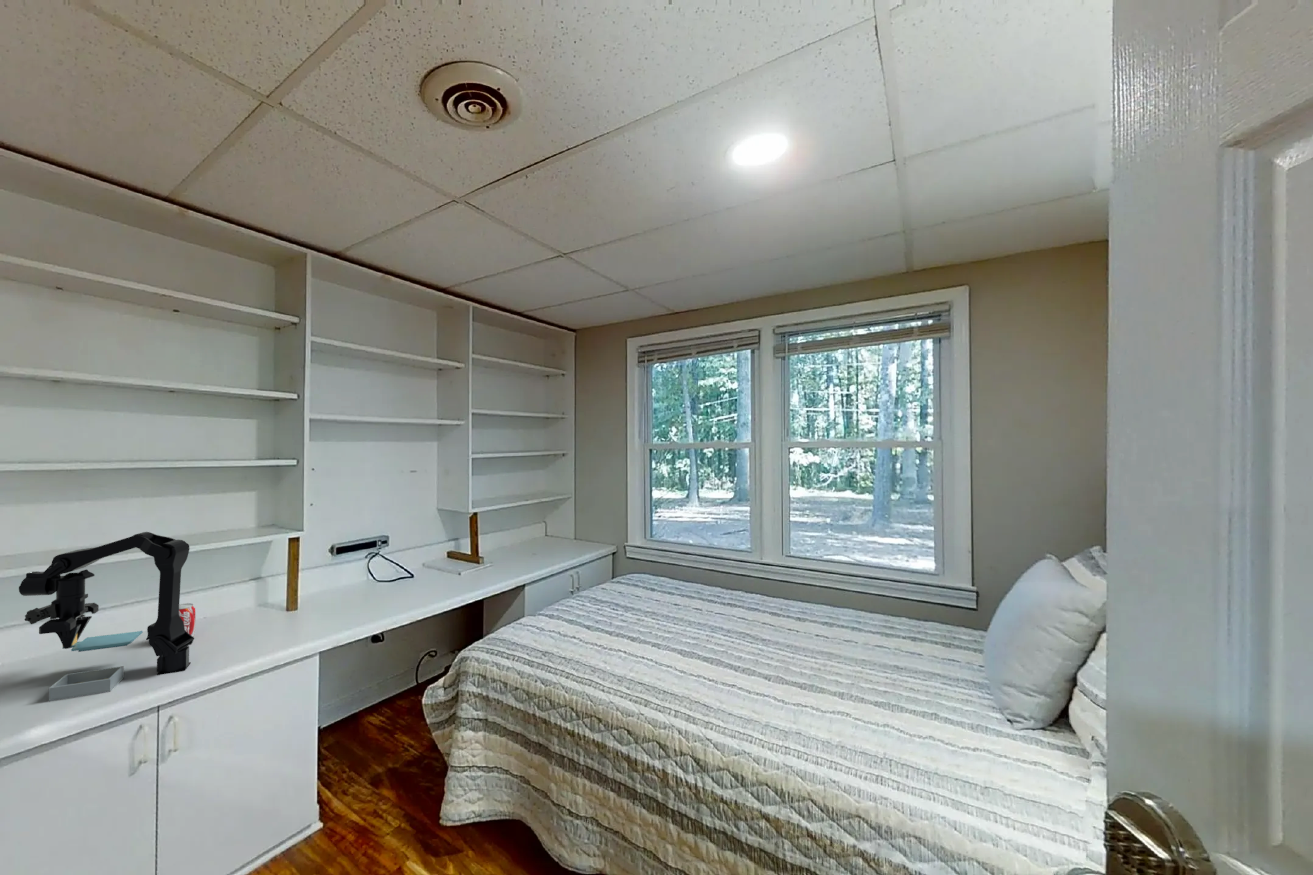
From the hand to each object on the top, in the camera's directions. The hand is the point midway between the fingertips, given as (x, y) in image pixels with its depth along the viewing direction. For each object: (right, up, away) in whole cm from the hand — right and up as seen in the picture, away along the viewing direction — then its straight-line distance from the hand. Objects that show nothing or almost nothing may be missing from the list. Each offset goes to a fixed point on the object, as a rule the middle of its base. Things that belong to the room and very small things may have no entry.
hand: (70, 646), depth 155 cm
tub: (+13, -10, -7) cm, 18 cm away
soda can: (+7, -9, +28) cm, 31 cm away
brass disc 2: (+16, -9, -6) cm, 19 cm away
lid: (+6, -1, +3) cm, 7 cm away
